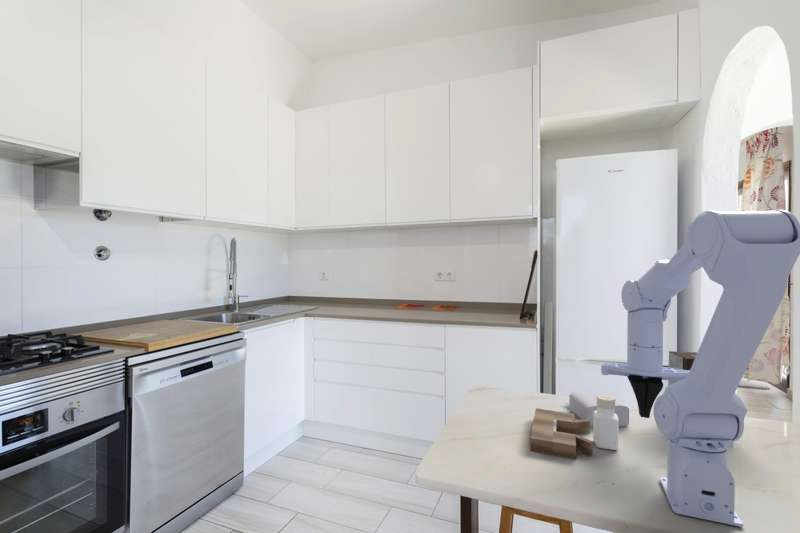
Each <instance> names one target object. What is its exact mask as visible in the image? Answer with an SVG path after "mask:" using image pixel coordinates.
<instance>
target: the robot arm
mask: <svg viewBox="0 0 800 533" xmlns="http://www.w3.org/2000/svg"><path fill="white" fill-rule="evenodd" d="M686 235H687V236H686V238H687V240H686V241H685V242H684V244H683V245H681V247H680V248H678V250H677V251H676V252H675V254H674V255H673V256H672V257H671V258H670V259H658V260H656V261H655V263H654V265H653V266H651V268H649V270H648V271H646V272H645V273H644V274H643V275H642V276H641V277H640V278H639V279H638V280H626V281H625V283H624V284H623V286H622V289H621V293H620V294H621V303H622V305H623V308H624V310H626V311H627V325H626V326H627V335H626V337H627V340H626V343H627V346H626V348H627V350H626V352H627V354H626V355H627V356H626V357H627V358H626V359H627V360H626V362H622V363H621V362H616V363H615V362H601V363H600V366H601V367H600V370H601V375H603V376H608V375H612V376H620V377H621V376H622V377H627V380H628V381H629V383H630V386H631V388H632V390H633V393H634V396H635V399H636V402H637V407H638V408H637V409H638V414H639V417H641V418H645V419H650V416H651V411H652V410H653V417H654V418H653V419H654V421H655V425H656V427H657V429H658V430H659V432H661V433H662V435H663V436H664V437H665V438H667V447H666V448H667V457H666V458H667V462H666V463H667V464H666V467H667V468H666V470H667V471H666V473H667V474H666V476H667V477H664V476H660V477H659V482H660V484H661V486H662V488H663V491H664V494H665V495H666V498H667V500H668V502H669V504H670V507H671V509H672V511H673V512H674V513H675V514H678V515H681V516H687V517H692V518H697V519H701V520H706V521H711V522H717V523H721V524H724V525H730V526H735V527H740V528H742V527H744V523H743V521H742V520H741V518H740V516H739V515H738V514H737V512H736V511H735V497H736V496H735V492H736V491H735V487H736V485H735V484H736V483H735V482H736V481H735V478H734V476H733V473H732V472H731V470H730V469H729V467H728V450H730V449H733V448H734V442H738V441H739V440H740V439H741V437H743V433H744V430H745V418H746V415H747V413H748V409H747V406H746V404H745V403H744V401H743V400H742V399H741V397H740V396H739V395H738V394H737V393H736V391H737V389H738V388H739V385H740V383H741V382H742V379H743V378H744V375H745V373H746V371H747V370H748V367H749V366H750V363H751V362H752V360H753V358H754V356H755V355H756V354H755V353H756V352H757V350H758V348H759V346H760V344H761V342H762V340H763V338H764V337H765V334H766V333H767V331H768V328H769V327H770V324H771V323H772V321H773V319H774V317H775V315H776V313H777V311H778V309H779V307H780V305H781V303H782V302H783V299H784V296H785V294H786V290H787V286H788V280H789V276H790V274H791V272H792V270H793V269H794V266H795V264H796V263H797V260H798V259H799V257H800V222H799V220H798V218H797V217H796V216H795V215H794V214H793V213H792V212H791V211H788V210H785V209H773V210H751V211H742V210H741V211H737V210H735V211H717V210H704V211H702V212H700V213H698V215H697V216H696V217H695V218H694V220H693V221H692V222H690V223H689V225H688V227H687V233H686ZM701 268H702V269H703V271H704V272H705V273H706V275H707V277H708V278H709V280H710V281H712V282H714V283H717V284H719V285H721V287H722V288H723V290H722V293H721V295H720V298H719V300H718V302H717V305H716V307H715V308H714V312H713V314H712V317H711V319H710V322H709V323H708V326H707V329H706V331H705V334H704V336H703V338H702V341H701V343H700V346H699V347H698V350H697V355H696V357H695V360H694V362H693V364H692V367H691V369H690V371H689V370H680V369H674V368H669V367H668V366H667V367H666V366H664V365H663V364H664V361H663V360H664V322H666V321H667V319H668V310H669V309H670V306H671V304H672V298H673V297H675V296H676V295H678V293H680V292H681V291H683V290H684V289H686V288H687V287H688V286H689V285H690V282H691V275H693V274H694V273H696V272H697V271H699V270H700V269H701ZM668 380H670V381H678V382H675V383H673V384H671V385H669V386H668V385H667V386H666V387H665V389H664V383H663V381H668ZM663 389H664V391H663ZM662 391H663V393H662V394H661V395H659V394H660V392H662Z"/></svg>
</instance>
